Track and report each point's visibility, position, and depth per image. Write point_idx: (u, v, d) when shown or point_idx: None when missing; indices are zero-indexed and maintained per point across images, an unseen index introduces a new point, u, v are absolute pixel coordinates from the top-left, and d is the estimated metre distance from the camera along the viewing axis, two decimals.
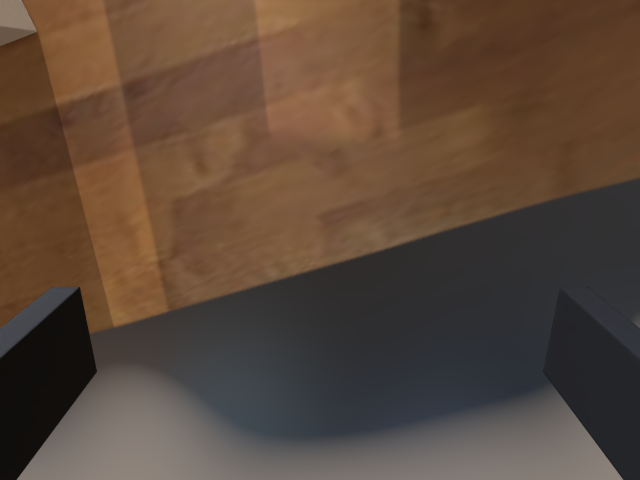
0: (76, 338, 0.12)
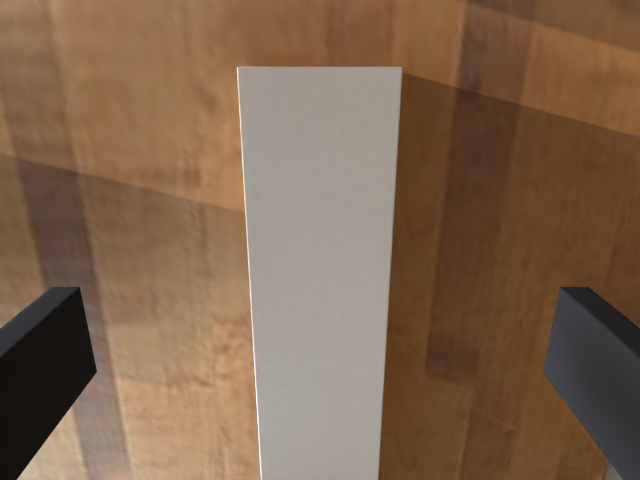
0: (76, 338, 0.12)
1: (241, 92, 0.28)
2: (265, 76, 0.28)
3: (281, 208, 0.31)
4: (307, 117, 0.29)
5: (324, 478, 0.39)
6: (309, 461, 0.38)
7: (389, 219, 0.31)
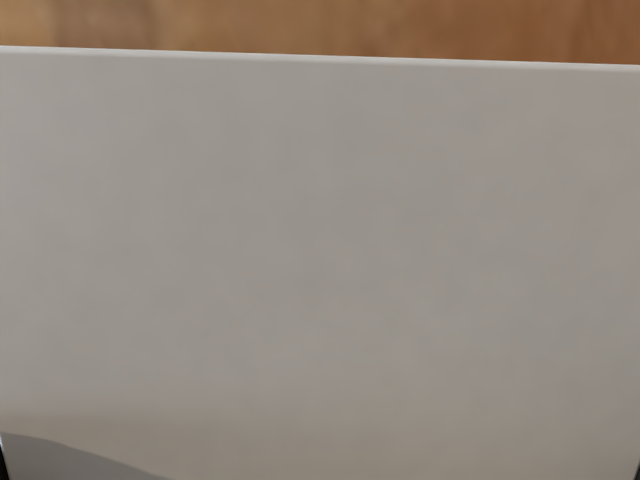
0: None
1: None
2: (51, 98, 0.05)
3: None
4: (273, 289, 0.06)
5: None
6: None
7: None
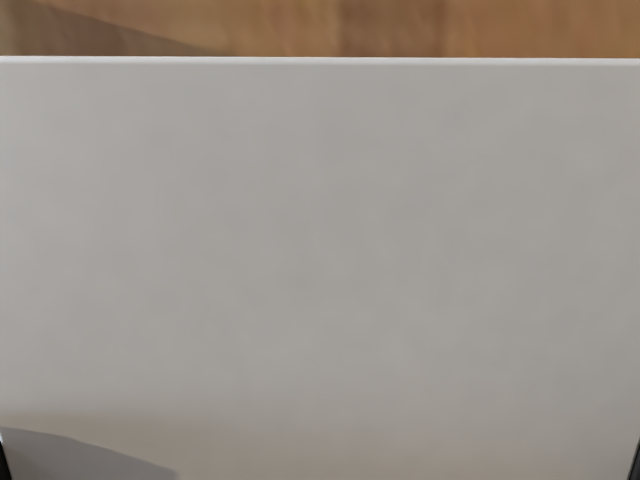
0: None
1: None
2: (41, 107, 0.05)
3: None
4: (265, 289, 0.06)
5: None
6: None
7: None
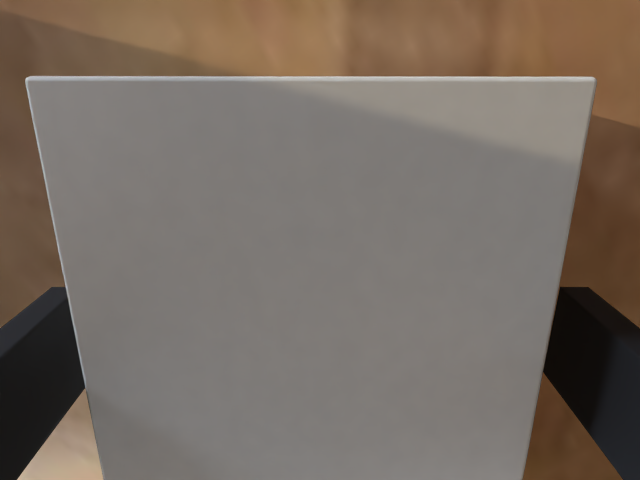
0: None
1: (49, 161, 0.08)
2: (124, 110, 0.08)
3: (205, 476, 0.11)
4: (273, 236, 0.09)
5: None
6: None
7: None
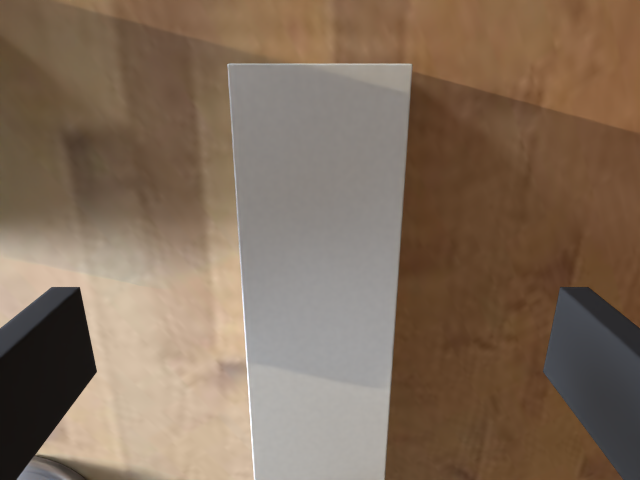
0: (76, 338, 0.12)
1: (232, 92, 0.25)
2: (259, 74, 0.25)
3: (277, 220, 0.28)
4: (306, 119, 0.26)
5: None
6: None
7: (396, 232, 0.28)
